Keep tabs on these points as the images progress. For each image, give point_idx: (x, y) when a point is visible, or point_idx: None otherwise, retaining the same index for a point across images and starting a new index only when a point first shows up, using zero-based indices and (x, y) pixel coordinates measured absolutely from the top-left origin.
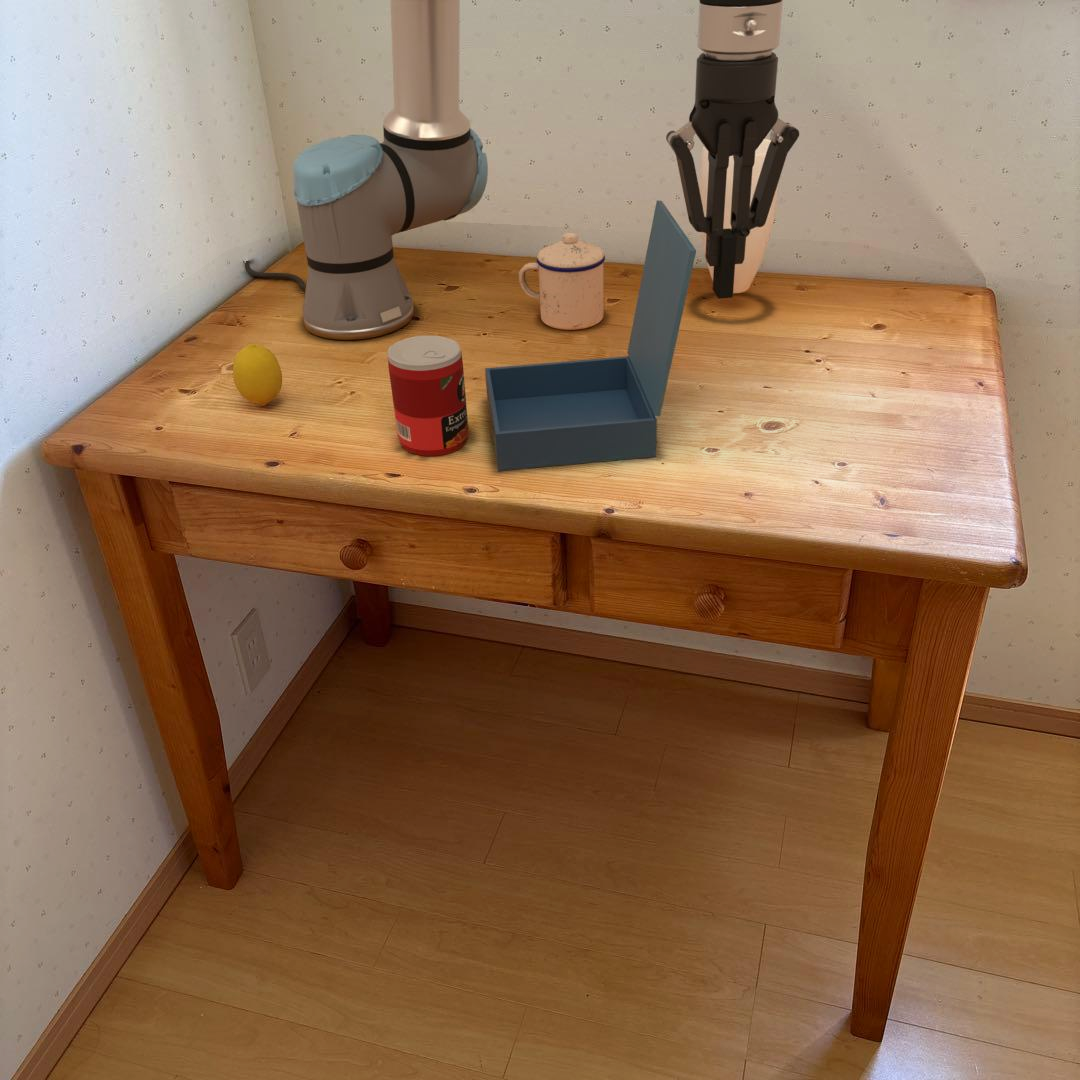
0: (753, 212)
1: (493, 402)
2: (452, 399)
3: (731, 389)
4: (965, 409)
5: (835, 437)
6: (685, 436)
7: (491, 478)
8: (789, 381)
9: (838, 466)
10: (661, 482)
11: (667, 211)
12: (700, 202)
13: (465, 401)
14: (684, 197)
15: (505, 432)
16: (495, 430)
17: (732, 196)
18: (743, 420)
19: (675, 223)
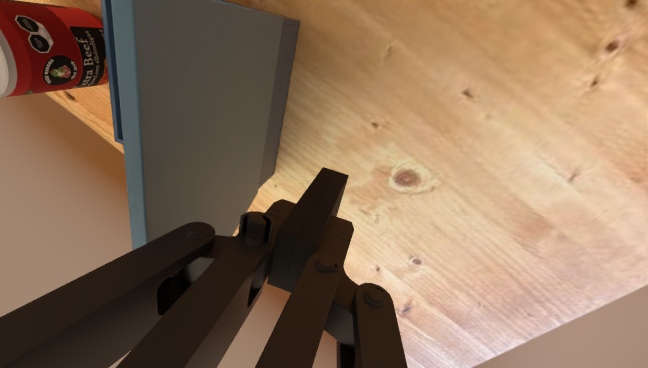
0: (351, 330)
1: (110, 75)
2: (57, 88)
3: (421, 77)
4: (637, 254)
5: (448, 226)
6: (314, 154)
7: None
8: (509, 92)
9: (412, 262)
10: (264, 209)
11: (133, 132)
12: (142, 336)
13: (80, 68)
14: (106, 264)
15: (122, 143)
16: (114, 134)
17: (275, 327)
18: (386, 154)
19: (139, 237)
